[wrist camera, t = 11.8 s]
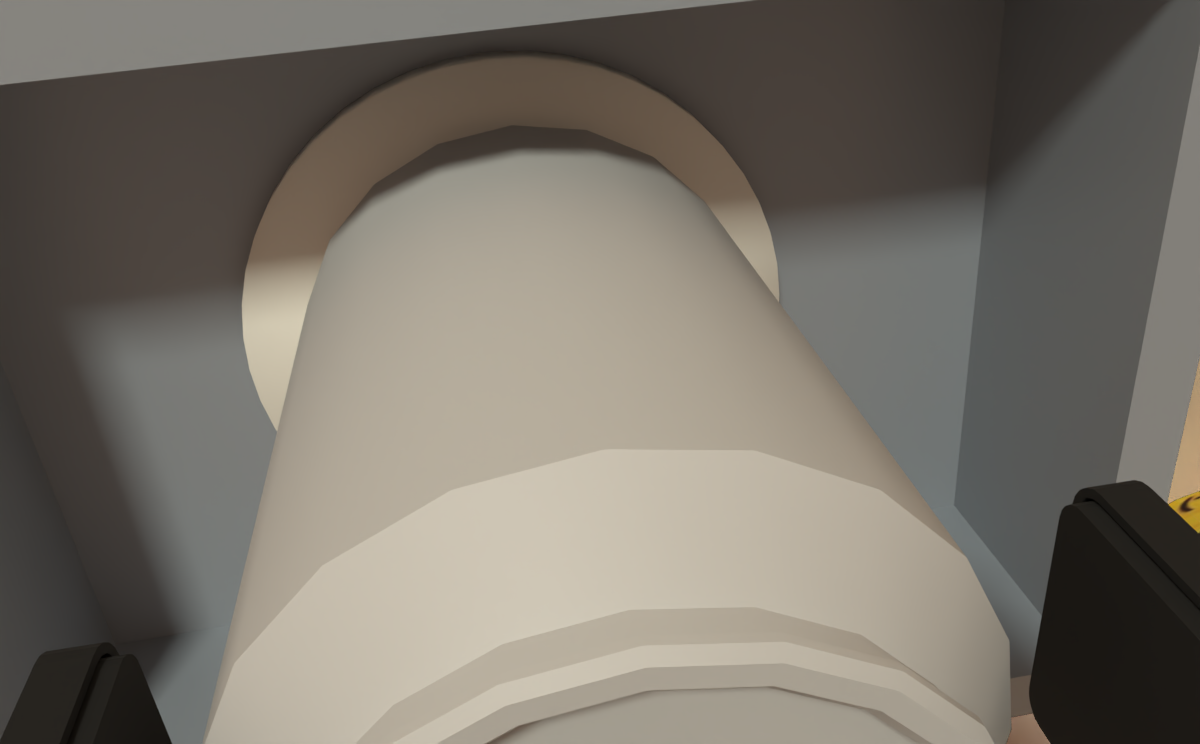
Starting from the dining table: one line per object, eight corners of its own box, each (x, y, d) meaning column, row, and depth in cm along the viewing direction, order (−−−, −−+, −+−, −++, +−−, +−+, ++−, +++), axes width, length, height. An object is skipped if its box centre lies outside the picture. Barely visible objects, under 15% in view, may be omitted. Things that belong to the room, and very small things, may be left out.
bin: (1046, -158, 18) (1311, -150, 12) (971, 508, 24) (1124, 696, 19) (-197, -34, 16) (-505, 37, 10) (92, 654, 22) (-6, 908, 17)
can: (509, 558, 21) (595, 1299, 10) (216, 310, 18) (-91, 1039, 7) (808, 328, 19) (1258, 922, 9) (551, 10, 16) (788, 366, 6)
